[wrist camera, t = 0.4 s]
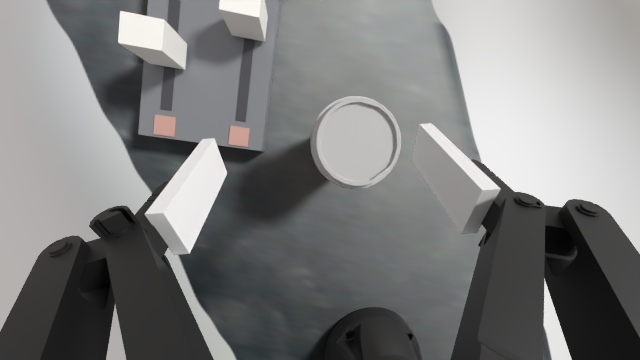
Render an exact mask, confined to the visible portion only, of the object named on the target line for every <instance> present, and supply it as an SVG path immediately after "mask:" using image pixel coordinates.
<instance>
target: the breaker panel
mask: <svg viewBox="0 0 640 360" xmlns="http://www.w3.org/2000/svg"><path fill="white" fill-rule="evenodd" d="M219 2H220V0H148V7H147V16H149V17H154V18H159V19H164V20H165V21H166V22H167V23H168V24H169V25H170V26H171V27H172V28H173V29H174V30H175V31H176V33H177V34H178V35H179V36H180V37H181V38H182V39H183V40H184V41H185V42H186V43H187V54H186V66H185V70H184V69H178V68H172V67H166V66H160V65H154V64H149V63H148V62H146V61H145V60H144V62H143V76H142V90H141V103H140V117H139V131H138V134H139V135H145V136H152V137H159V138H166V139H174V140H181V141H188V142H196V143H200V142H201V140H202V139H211V138H215V141H216V144H217V145H218V146H225V147H233V148H240V149H247V150H255V151H262V152H264V150H265V142H266V133H267V124H268V115H269V107H270V98H271V89H272V80H273V72H274V63H275V54H276V46H277V37H278V28H279V19H280V11H281V3H280V0H265V4H266V9H267V15H268V19H267V28H266V38H265V42H264V41H259V40H253V39H248V38H243V37H238V36H233V35H231V33H230V31H229V29H228V27H227V25H226V23H225V21H224V19H223V17H222V15H221V13H220V11H219Z"/></svg>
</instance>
